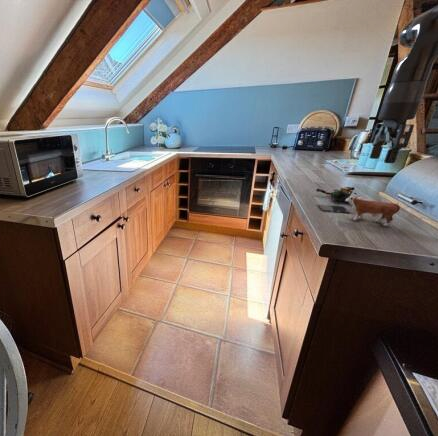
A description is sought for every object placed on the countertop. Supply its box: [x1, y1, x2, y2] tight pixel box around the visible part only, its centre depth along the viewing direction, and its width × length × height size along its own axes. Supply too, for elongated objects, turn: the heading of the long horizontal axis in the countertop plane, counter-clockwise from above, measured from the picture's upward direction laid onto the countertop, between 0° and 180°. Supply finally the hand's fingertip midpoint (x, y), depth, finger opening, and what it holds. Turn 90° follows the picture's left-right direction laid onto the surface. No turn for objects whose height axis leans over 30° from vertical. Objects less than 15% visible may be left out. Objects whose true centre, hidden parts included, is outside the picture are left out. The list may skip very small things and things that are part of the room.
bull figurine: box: [344, 193, 401, 227], centre depth 79 cm, size 4×13×8 cm, turn 45°
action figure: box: [316, 186, 357, 204], centre depth 100 cm, size 6×15×15 cm
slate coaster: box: [318, 204, 350, 214], centre depth 91 cm, size 8×6×1 cm
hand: (381, 160), depth 73 cm, fingers open, 8 cm apart
